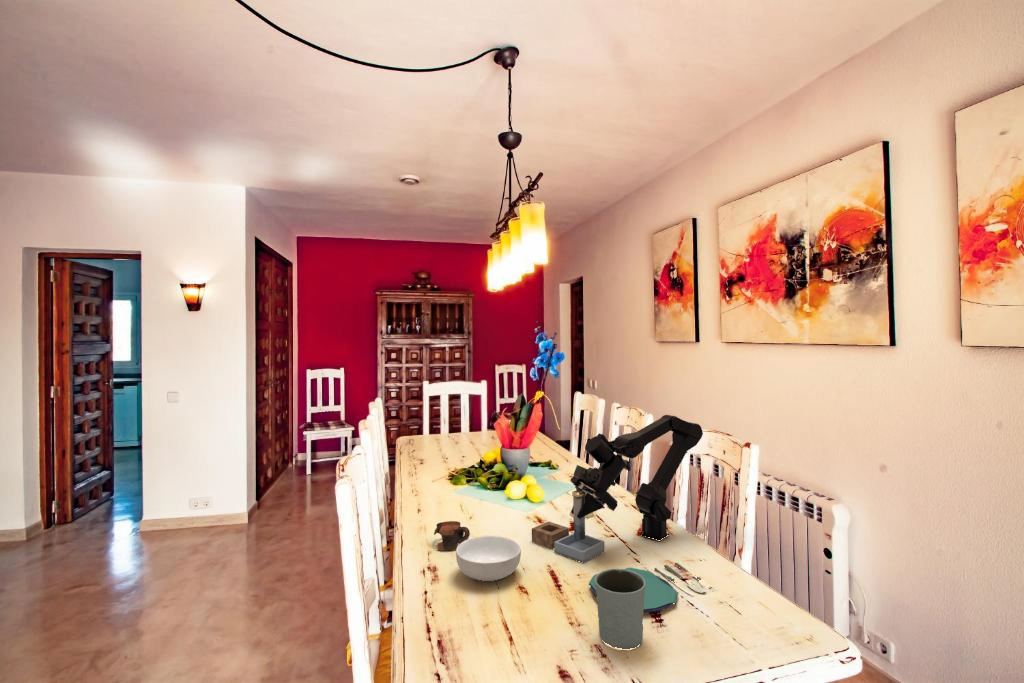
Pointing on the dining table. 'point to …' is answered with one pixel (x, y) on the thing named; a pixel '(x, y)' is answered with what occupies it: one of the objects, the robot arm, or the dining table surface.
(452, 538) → the brown clay jug
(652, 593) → the cutlery set
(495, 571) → the cereal bowl
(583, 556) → the slate tray
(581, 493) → the pin
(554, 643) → the dining table surface
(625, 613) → the grey cylindrical pot
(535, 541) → the walnut block
